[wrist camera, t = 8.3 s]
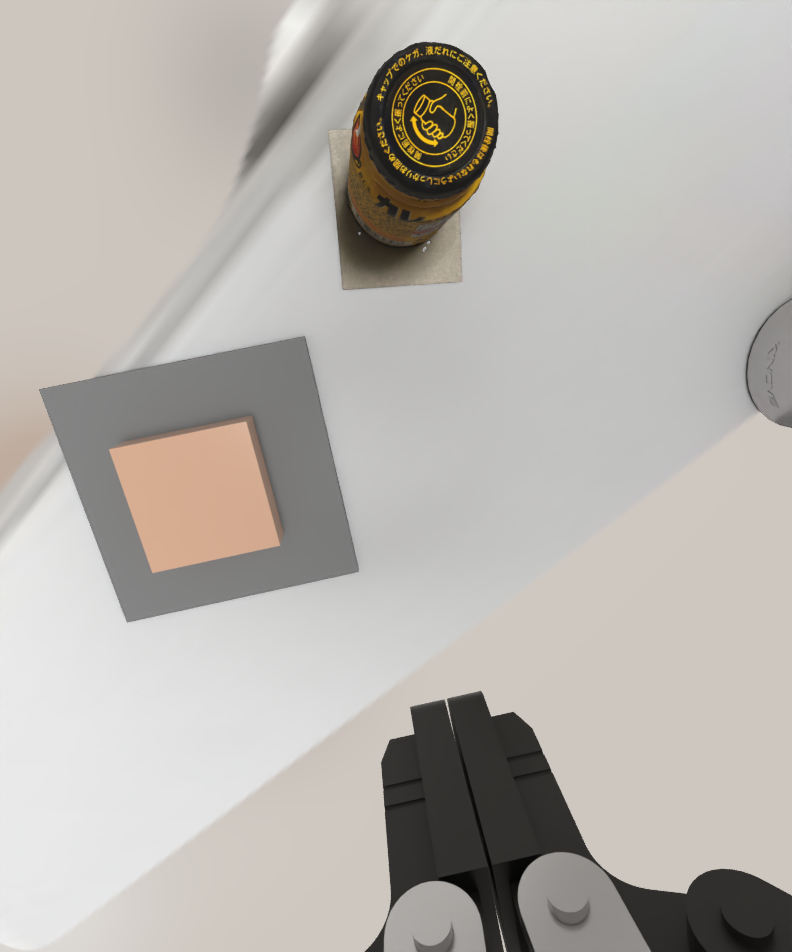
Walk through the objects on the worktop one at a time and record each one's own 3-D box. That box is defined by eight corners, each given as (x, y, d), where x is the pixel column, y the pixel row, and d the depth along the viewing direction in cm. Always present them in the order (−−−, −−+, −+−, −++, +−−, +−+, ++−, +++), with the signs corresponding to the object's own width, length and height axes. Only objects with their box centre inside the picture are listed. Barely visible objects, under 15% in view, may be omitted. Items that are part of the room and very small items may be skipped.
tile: (246, 421, 32) (108, 449, 31) (280, 545, 34) (152, 573, 33) (252, 414, 34) (124, 441, 33) (283, 531, 36) (164, 557, 36)
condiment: (455, 125, 31) (523, 7, 20) (461, 282, 33) (524, 259, 22) (328, 131, 30) (320, 14, 19) (342, 289, 33) (344, 271, 21)
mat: (304, 336, 33) (304, 336, 33) (358, 569, 38) (358, 571, 37) (42, 388, 33) (39, 389, 32) (129, 619, 37) (127, 622, 37)
